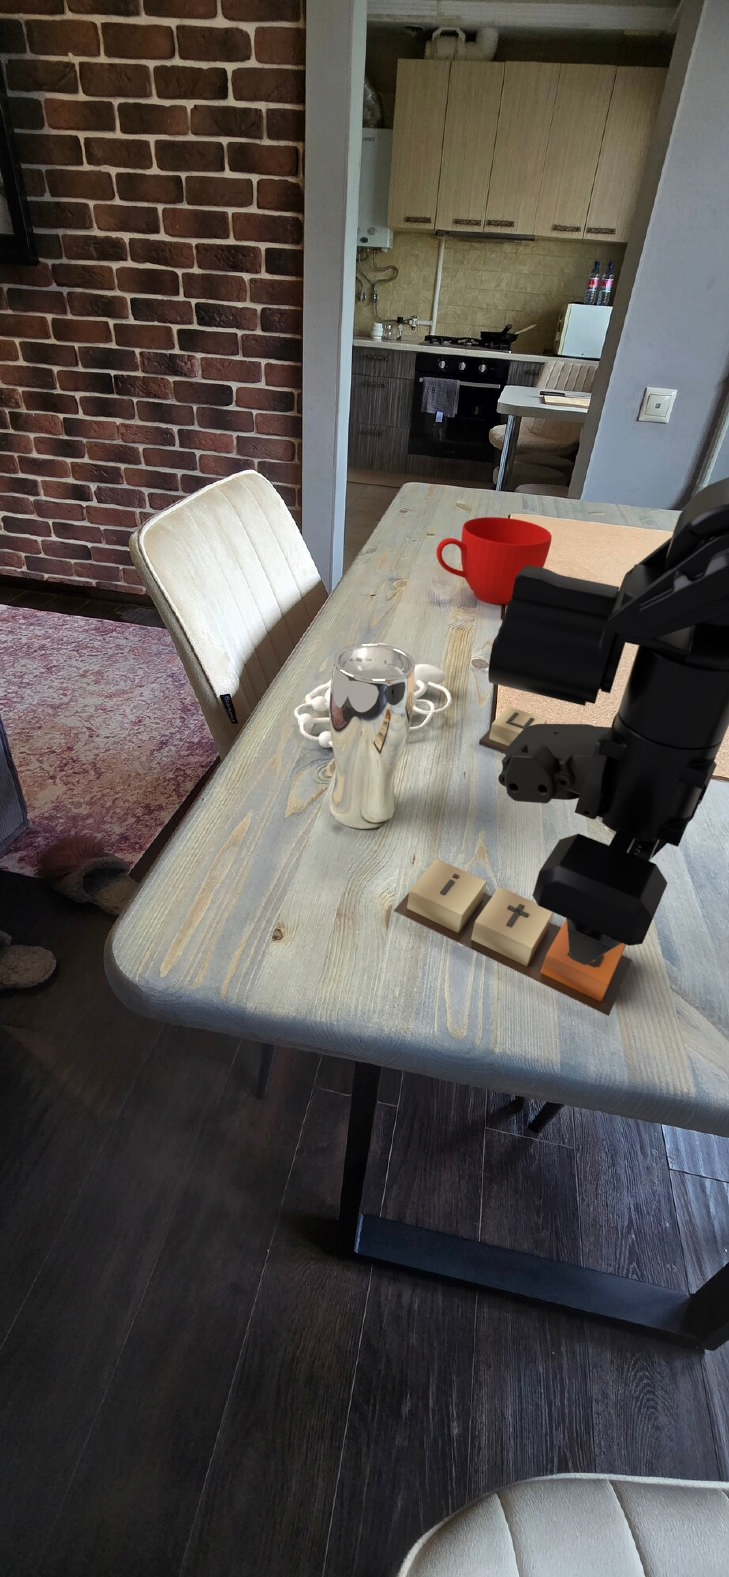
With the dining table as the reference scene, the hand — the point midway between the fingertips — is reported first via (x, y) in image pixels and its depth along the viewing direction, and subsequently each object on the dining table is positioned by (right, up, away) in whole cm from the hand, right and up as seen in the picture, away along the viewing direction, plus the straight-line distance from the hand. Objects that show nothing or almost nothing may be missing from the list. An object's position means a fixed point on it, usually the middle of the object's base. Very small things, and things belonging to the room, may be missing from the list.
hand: (599, 917), depth 50 cm
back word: (+5, +12, +27) cm, 29 cm away
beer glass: (-16, +7, +17) cm, 25 cm away
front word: (-5, -3, +6) cm, 8 cm away
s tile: (0, -4, +3) cm, 5 cm away
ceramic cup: (+2, +38, +62) cm, 73 cm away
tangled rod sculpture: (-15, +17, +32) cm, 39 cm away
